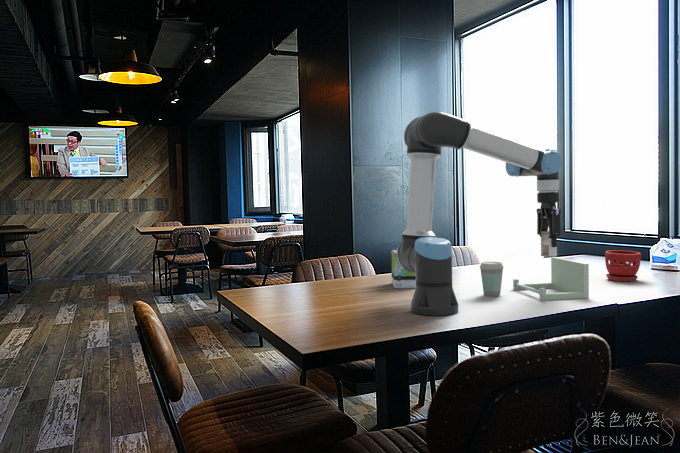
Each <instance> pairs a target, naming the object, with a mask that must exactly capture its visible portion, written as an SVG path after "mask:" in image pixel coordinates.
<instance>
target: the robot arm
mask: <svg viewBox="0 0 680 453" xmlns="http://www.w3.org/2000/svg"><path fill="white" fill-rule="evenodd" d="M403 132H404V133H403V141H404V144H405V146H406V156H407V157H408V159H409V160H410V169H409V170H410V171H409V183H408V184H409V188H408V200H407V201H408V205H407V218H406V219H407V221H406V229H405V230H404V231H403V232H402V233H401V242H400V244H399V245H398V246H397V248H396V250H397V260H398V262H399V264H400V265H401V266H402V267H403V268H404V269H405V270H407V271H408V272H411V273H416V288H414V293H413V295H412V299H411V302H410V311H411V312H412V313H413V314H417V315H423V316H435V317H437V316H450V315H455V314H457V313H458V312H459V303H458V300H457V297H456V293H455V292H454V289H453V249H452V248H453V247H452V243H451V241H450V240H448V239H446V238H443V237H436V236H437V235H436V234H435V233H434V231H433V230H432V229H433V227H432V226H433V215H434V214H433V213H434V198H435V182H436V180H435V179H436V170H437V169H436V167H437V160H439V158H441V157H442V156H441V155H442V148H451V149H456V150H462V149H465V150H468V151H472V152H474V153H478V154H480V155H482V156H486V157H490V158H493V159H495V160H498V161H500V162H501V161H502V162H504V163H505V170H506V171H505V172H506V173H507V175H508V176H510V177H516V178H518V177H536V191H537V192H538V193H536V198H537V200H536V202H537V203H539V204H540V207H539V208H536V214H537V219H536V222H537V223H536V224H537V227H536V228H537V229H536V230H537V231H536V232H537V235H539V238H540V255H541V254H542V239H541V231H549V233H550V236H549V237H548V238H549V256H554V257H557V256H558V242H557V241H558V238H559V237H561V235H562V234H561V233H562V232H561V212H562V209H561V208H557V204H556V203H559V202H560V193H559V192H558V191H559V190H560V180H559V179H560V171H561V169H562V167H563V163H564V162H563V156H562V155H561V153H560V152H559V151H558V150H557V149H555V148H547V149H546V148H545V149H540V148H536V147H534V146H531V145H528V144H525V143H522V142H519V141H516V140H513V139H511V138H507V137H505V136H502V135H500V134H496V133H494V132H491V131H488V130H484V129H482V128H479V127H476V126H474V125H471V122H470V121H468V120H466V119H463V118H460V117H458V116H456V115H453V114H450V113H446V112H441V111H431V112H428V113H426V114H424V115H422V116H417V117H415V118H413V119H412V120H411V121H410V122H409V123H408V124H407V125H406V127H405V129H404V131H403Z"/></svg>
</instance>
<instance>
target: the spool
mask: <svg viewBox="0 0 680 453" xmlns="http://www.w3.org/2000/svg"><path fill="white" fill-rule="evenodd" d="M549 236H550V233H549V230H548V231H541V237H540V240H541V239H542V254H541V253H540V256H541V257H550V258H551V257H555V256H549V238H548V237H549Z"/></svg>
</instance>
